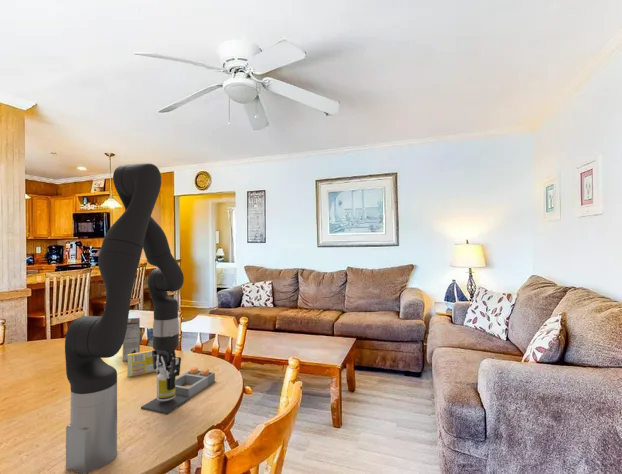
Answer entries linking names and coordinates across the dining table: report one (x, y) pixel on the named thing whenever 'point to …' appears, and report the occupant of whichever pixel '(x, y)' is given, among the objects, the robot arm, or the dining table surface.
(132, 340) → the coffee box
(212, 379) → the frame
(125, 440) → the dining table surface
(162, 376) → the supplement bottle
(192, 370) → the plunger
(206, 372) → the plunger
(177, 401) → the mat
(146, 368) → the candy box
